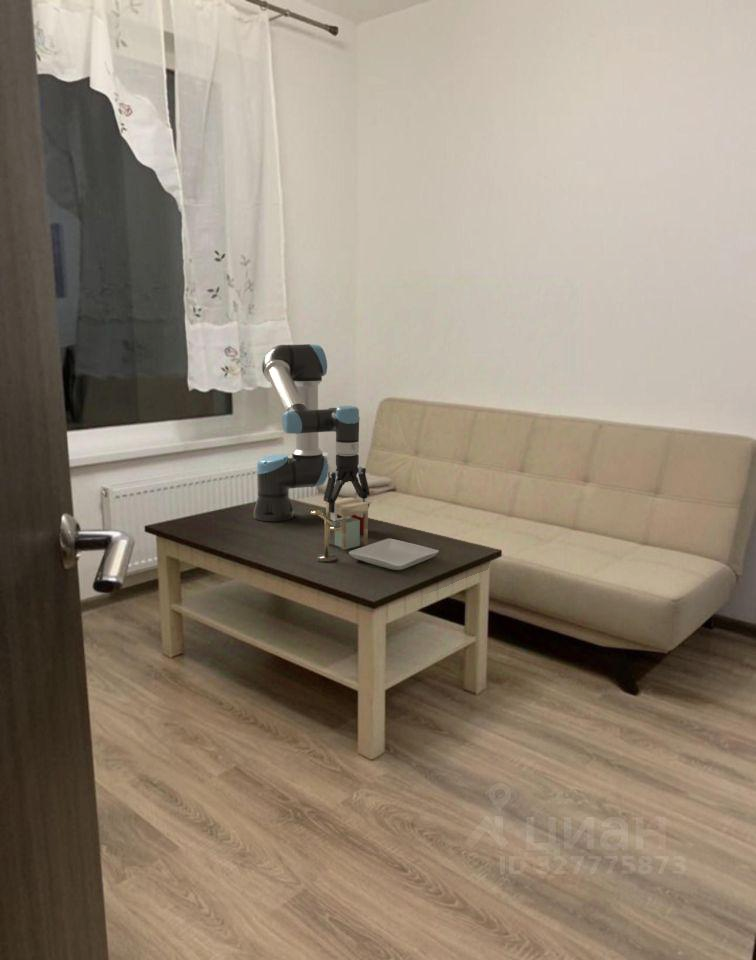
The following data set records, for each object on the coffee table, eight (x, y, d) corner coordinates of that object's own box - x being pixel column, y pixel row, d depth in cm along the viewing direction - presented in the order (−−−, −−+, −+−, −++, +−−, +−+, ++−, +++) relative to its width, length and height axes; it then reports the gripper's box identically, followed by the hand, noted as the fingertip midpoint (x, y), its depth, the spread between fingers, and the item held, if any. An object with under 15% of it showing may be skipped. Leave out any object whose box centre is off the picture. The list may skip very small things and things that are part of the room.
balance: (305, 555, 243) (305, 510, 239) (321, 551, 246) (321, 507, 243) (332, 567, 231) (332, 520, 228) (347, 563, 235) (347, 517, 232)
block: (334, 544, 254) (334, 519, 252) (348, 541, 258) (349, 516, 256) (345, 549, 249) (345, 523, 247) (359, 545, 253) (359, 520, 251)
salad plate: (388, 546, 254) (388, 536, 253) (440, 559, 241) (440, 549, 240) (346, 561, 238) (346, 551, 237) (399, 576, 225) (400, 566, 224)
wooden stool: (326, 541, 254) (326, 501, 251) (349, 536, 261) (350, 497, 257) (343, 549, 247) (343, 507, 244) (367, 543, 253) (368, 503, 250)
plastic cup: (377, 532, 269) (377, 499, 266) (354, 538, 262) (354, 504, 259) (357, 525, 277) (357, 494, 274) (334, 531, 270) (334, 498, 267)
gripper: (325, 459, 237) (325, 527, 242) (381, 451, 251) (380, 516, 256) (312, 455, 243) (312, 521, 248) (367, 448, 256) (366, 511, 262)
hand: (346, 519), depth 252 cm, fingers closed on wooden stool, 10 cm apart
